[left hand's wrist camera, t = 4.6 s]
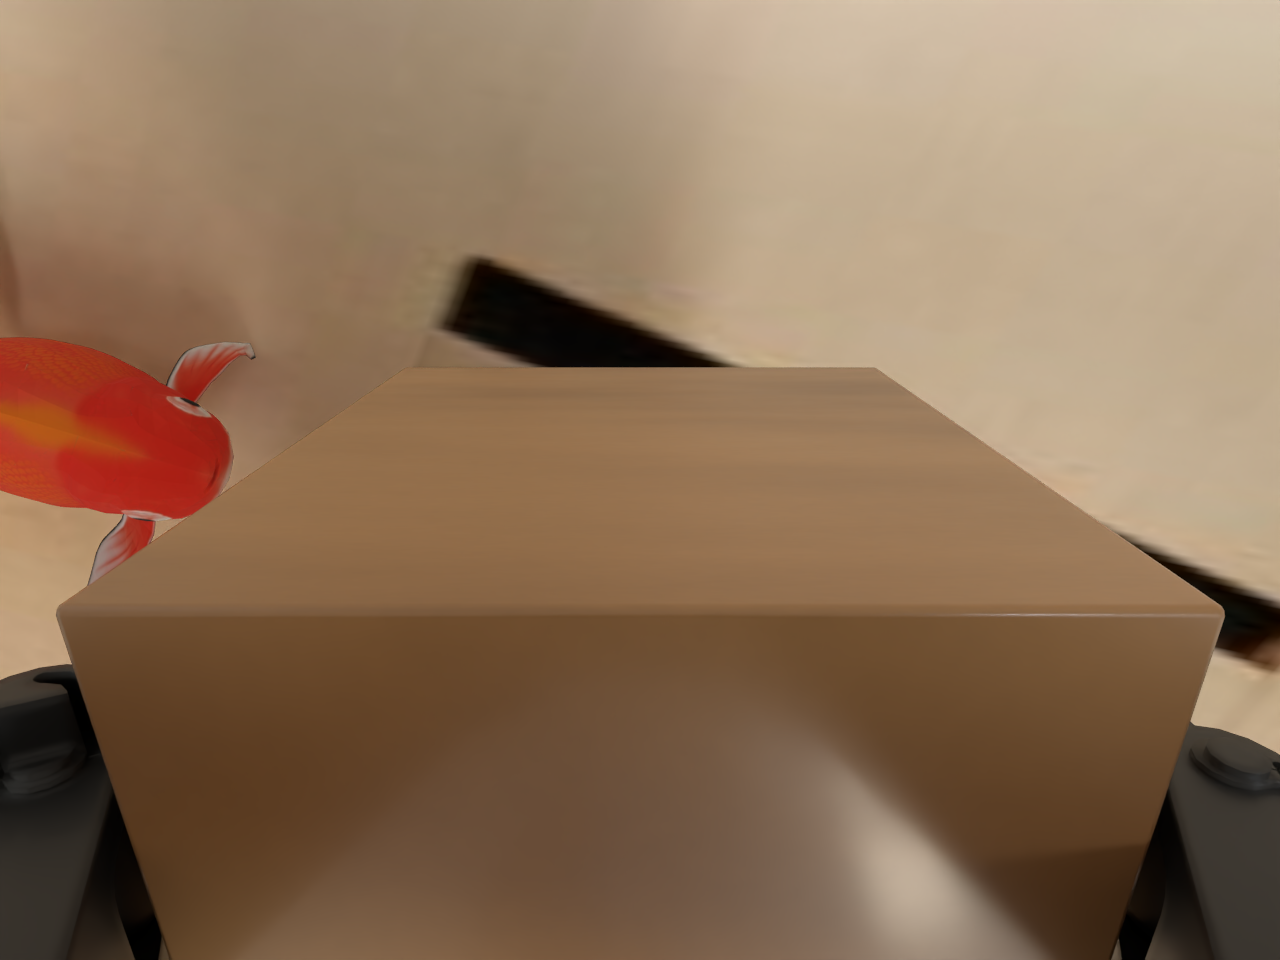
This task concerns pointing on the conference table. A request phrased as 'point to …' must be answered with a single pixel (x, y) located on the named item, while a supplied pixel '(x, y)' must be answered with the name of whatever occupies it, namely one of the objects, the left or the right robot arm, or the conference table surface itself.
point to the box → (640, 683)
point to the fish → (112, 436)
